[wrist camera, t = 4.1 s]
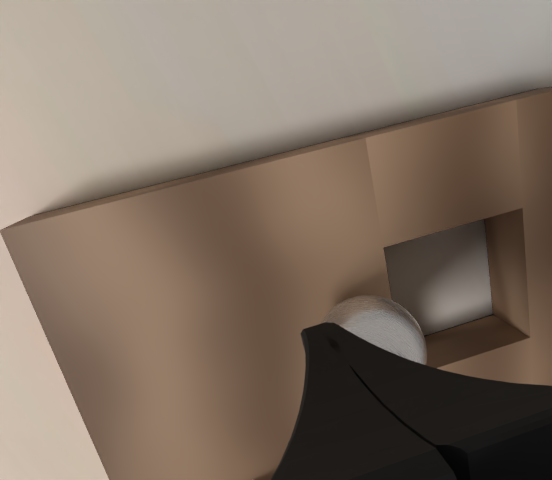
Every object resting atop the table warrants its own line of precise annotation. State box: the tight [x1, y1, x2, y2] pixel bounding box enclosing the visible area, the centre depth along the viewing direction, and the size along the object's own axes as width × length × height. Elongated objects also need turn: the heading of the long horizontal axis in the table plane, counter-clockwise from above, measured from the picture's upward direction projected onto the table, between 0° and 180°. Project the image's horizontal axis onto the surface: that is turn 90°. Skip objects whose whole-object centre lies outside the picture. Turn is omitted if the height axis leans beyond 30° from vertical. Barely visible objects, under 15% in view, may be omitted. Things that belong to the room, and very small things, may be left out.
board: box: [0, 87, 552, 480], centre depth 15 cm, size 18×16×2 cm
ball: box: [321, 295, 427, 365], centre depth 12 cm, size 3×3×3 cm
